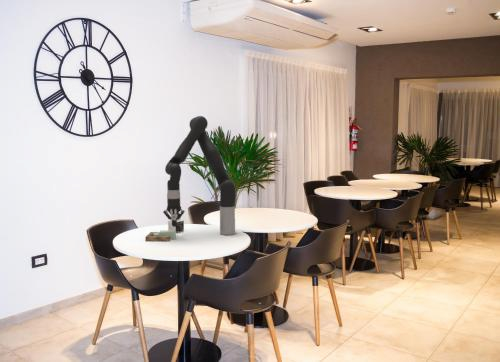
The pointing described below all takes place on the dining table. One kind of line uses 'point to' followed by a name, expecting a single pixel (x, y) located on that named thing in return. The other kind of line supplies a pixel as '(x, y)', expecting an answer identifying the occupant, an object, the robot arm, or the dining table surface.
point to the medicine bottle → (178, 227)
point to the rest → (156, 237)
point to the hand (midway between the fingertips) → (174, 226)
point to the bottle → (166, 234)
